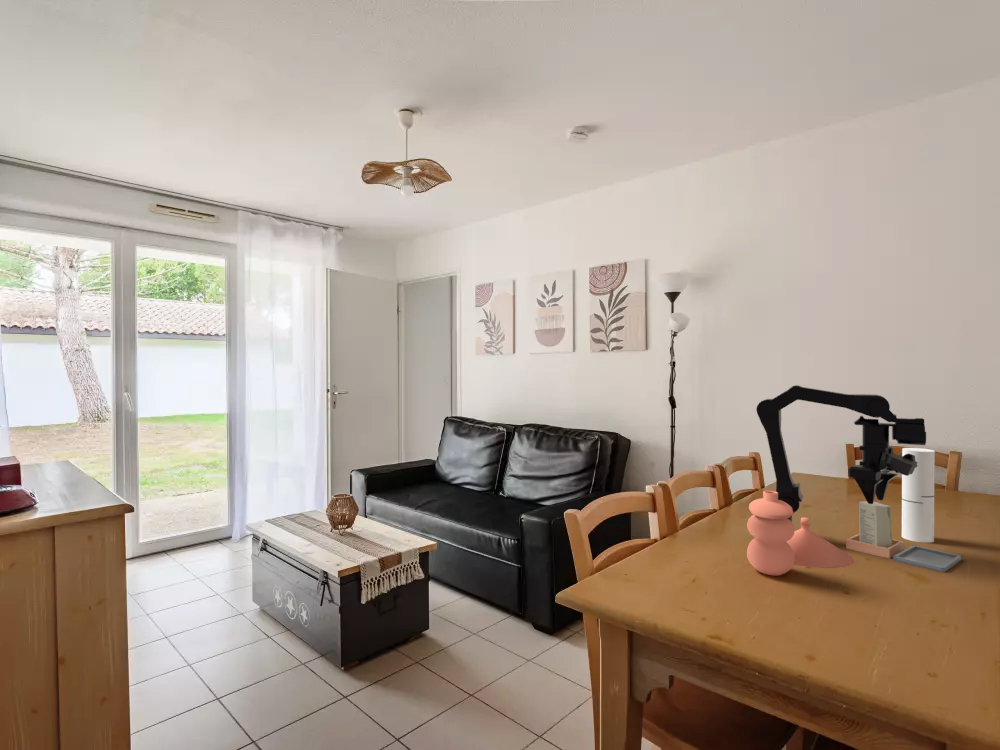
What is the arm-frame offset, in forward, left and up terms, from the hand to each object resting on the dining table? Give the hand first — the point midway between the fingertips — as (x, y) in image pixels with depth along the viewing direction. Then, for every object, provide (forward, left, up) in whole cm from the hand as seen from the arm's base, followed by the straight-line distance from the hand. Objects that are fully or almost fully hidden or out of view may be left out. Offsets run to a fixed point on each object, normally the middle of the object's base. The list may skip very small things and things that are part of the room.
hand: (875, 501), depth 140 cm
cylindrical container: (+20, -3, -13) cm, 24 cm away
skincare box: (0, 0, -13) cm, 13 cm away
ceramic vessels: (-25, +9, -13) cm, 29 cm away
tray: (+1, -11, -13) cm, 17 cm away
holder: (0, 0, -13) cm, 13 cm away
